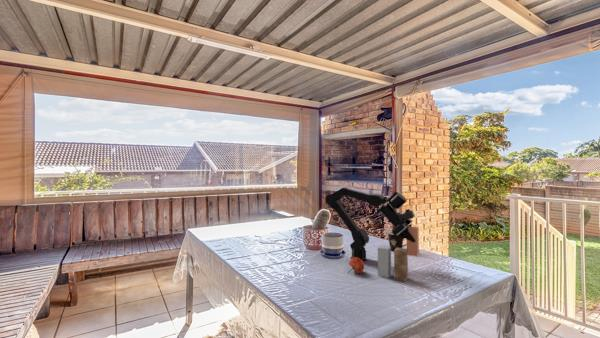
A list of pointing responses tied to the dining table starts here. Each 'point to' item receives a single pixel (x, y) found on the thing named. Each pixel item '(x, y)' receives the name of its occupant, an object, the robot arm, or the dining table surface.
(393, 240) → the coffee mug
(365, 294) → the dining table surface
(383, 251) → the slate block
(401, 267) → the walnut block
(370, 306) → the dining table surface
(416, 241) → the rust block
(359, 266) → the pomegranate
